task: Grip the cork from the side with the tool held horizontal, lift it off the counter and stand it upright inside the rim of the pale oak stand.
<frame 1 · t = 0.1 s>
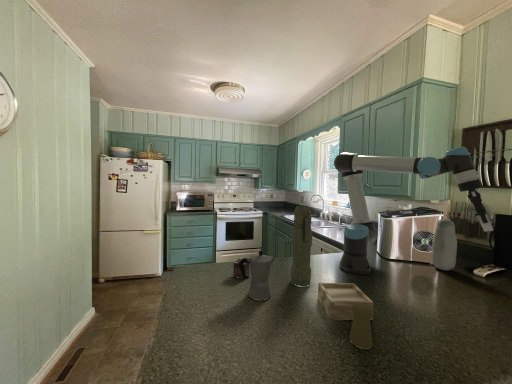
hand: (487, 228, 93), 28 cm above the countertop, tool tilted 20°, fingers open, 13 cm apart
oak stand: (342, 308, 80), on the countertop
thermos: (300, 283, 99), on the countertop
cork: (360, 343, 63), on the countertop
box: (241, 277, 105), on the countertop
coffeepot: (256, 296, 87), on the countertop
grey rounded cylinder: (442, 269, 121), on the countertop
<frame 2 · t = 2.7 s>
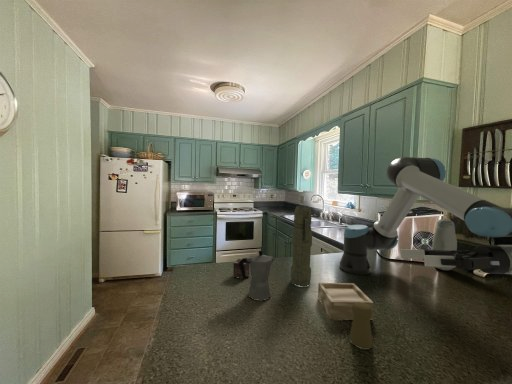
hand: (411, 256, 63), 24 cm above the countertop, tool horizontal, fingers open, 13 cm apart
nothing on the countertop moved.
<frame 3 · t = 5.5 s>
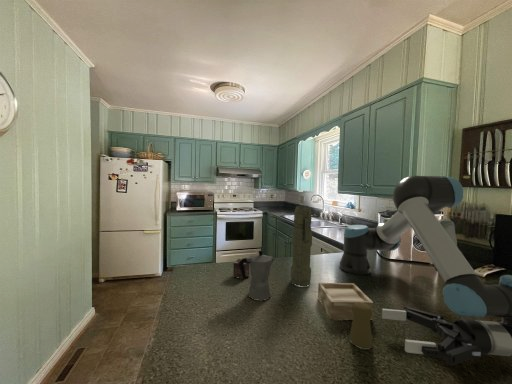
hand: (392, 327, 61), 6 cm above the countertop, tool horizontal, fingers open, 13 cm apart
nothing on the countertop moved.
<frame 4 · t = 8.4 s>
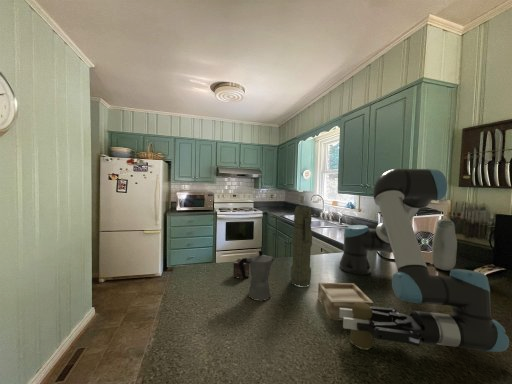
hand: (341, 317, 63), 7 cm above the countertop, tool horizontal, fingers closed on cork, 4 cm apart
cork: (360, 343, 63), on the countertop, touching gripper
everything else where it was.
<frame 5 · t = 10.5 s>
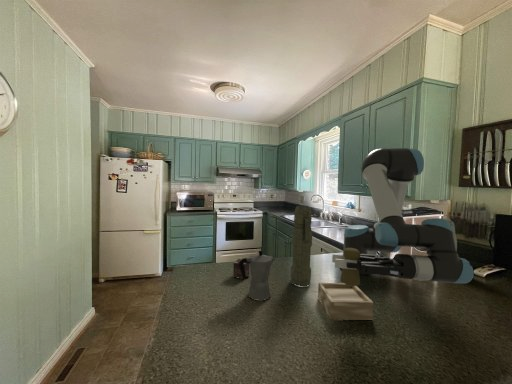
hand: (334, 260, 73), 19 cm above the countertop, tool horizontal, fingers closed on cork, 4 cm apart
cork: (350, 282, 73), point 13 cm above the countertop, touching gripper
everything else where it was.
when the fingers open (13 cm above the countertop, at t = 12.6 s): cork moves 3 cm, resting on oak stand.
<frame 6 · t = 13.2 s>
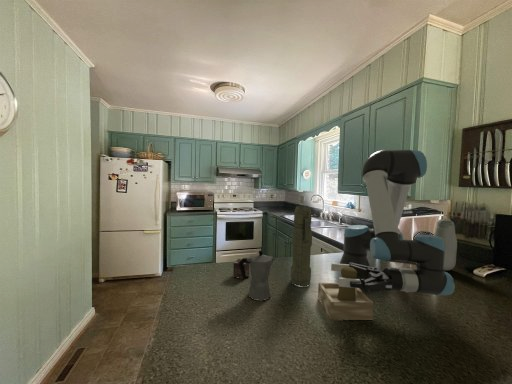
hand: (334, 273, 80), 13 cm above the countertop, tool horizontal, fingers open, 13 cm apart
cork: (346, 299, 77), point 5 cm above the countertop, touching oak stand
everything else where it was.
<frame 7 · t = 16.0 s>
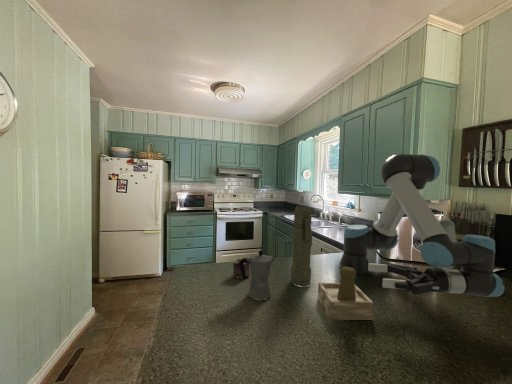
hand: (375, 274, 78), 13 cm above the countertop, tool horizontal, fingers open, 13 cm apart
nothing on the countertop moved.
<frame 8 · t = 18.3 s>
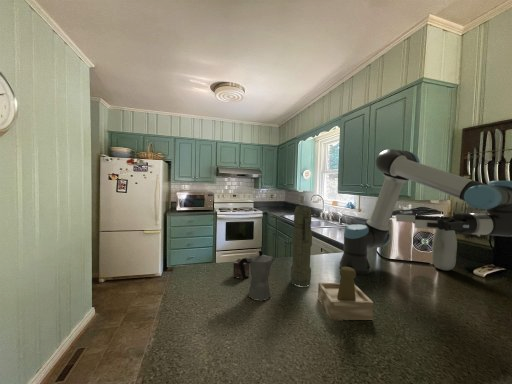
hand: (405, 220, 82), 32 cm above the countertop, tool horizontal, fingers open, 13 cm apart
nothing on the countertop moved.
at the end: cork inside the target area on the oak stand (2.9 cm from its centre), point 4.8 cm above the oak stand's base; cork tilted 0°; the gripper is holding nothing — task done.
